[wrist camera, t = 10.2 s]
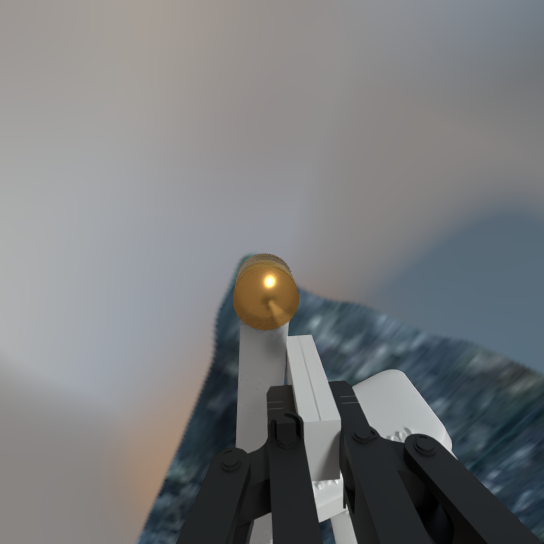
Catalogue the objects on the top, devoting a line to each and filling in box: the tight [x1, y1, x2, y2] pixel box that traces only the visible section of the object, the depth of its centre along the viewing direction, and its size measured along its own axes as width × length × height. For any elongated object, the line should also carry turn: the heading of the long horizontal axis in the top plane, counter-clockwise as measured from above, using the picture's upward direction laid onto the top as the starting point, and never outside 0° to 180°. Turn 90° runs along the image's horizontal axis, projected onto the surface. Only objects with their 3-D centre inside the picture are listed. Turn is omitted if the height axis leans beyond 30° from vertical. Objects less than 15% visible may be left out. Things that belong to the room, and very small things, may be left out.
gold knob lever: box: [233, 254, 299, 544], centre depth 20 cm, size 4×24×3 cm, turn 177°
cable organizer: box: [312, 370, 457, 544], centre depth 32 cm, size 15×11×12 cm
